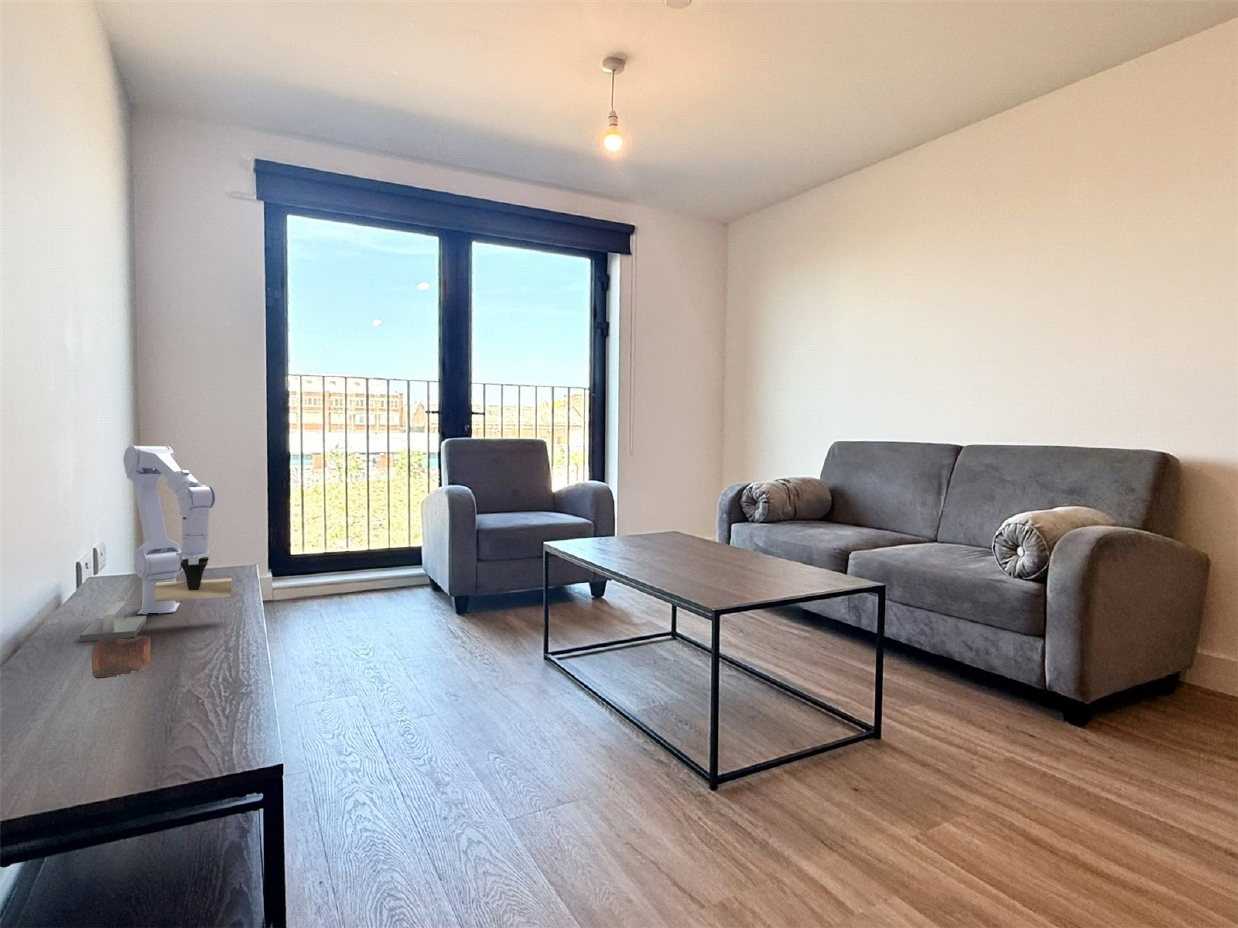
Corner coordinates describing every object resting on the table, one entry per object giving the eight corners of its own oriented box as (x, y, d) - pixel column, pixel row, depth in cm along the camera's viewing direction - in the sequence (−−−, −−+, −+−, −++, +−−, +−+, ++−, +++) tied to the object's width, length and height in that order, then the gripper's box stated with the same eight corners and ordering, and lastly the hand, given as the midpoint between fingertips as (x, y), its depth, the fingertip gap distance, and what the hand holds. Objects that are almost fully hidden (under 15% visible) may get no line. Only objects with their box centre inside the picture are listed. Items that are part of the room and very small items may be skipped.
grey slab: (96, 625, 160) (96, 619, 160) (146, 621, 164) (146, 615, 164) (80, 641, 147) (80, 635, 147) (134, 637, 152) (135, 631, 152)
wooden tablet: (151, 667, 131) (87, 669, 126) (149, 678, 131) (85, 681, 126) (151, 633, 153) (97, 634, 147) (149, 643, 153) (95, 644, 147)
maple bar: (156, 598, 163) (156, 582, 163) (231, 593, 171) (231, 578, 171) (154, 601, 161) (155, 585, 161) (231, 596, 169) (231, 580, 169)
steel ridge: (116, 618, 161) (116, 601, 161) (126, 617, 162) (126, 601, 162) (103, 632, 150) (103, 615, 150) (113, 631, 151) (114, 614, 150)
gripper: (178, 530, 170) (177, 583, 170) (174, 539, 157) (172, 595, 158) (211, 530, 173) (209, 581, 174) (208, 538, 161) (207, 593, 161)
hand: (194, 588), depth 166 cm, fingers closed on maple bar, 3 cm apart
